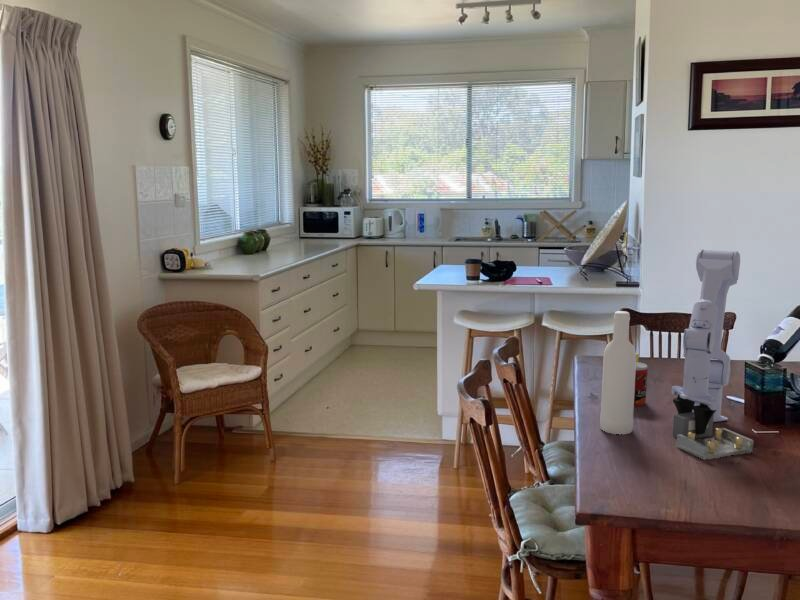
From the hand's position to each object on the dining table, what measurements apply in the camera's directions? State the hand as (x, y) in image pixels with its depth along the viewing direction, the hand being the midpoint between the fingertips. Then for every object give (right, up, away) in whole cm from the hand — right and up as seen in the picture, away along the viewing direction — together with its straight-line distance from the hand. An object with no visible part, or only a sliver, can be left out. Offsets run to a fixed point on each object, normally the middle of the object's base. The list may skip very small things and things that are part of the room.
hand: (692, 430), depth 186 cm
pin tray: (+1, -3, -9) cm, 10 cm away
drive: (0, -2, 0) cm, 2 cm away
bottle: (-17, -1, +4) cm, 18 cm away
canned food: (-7, +3, +27) cm, 28 cm away
